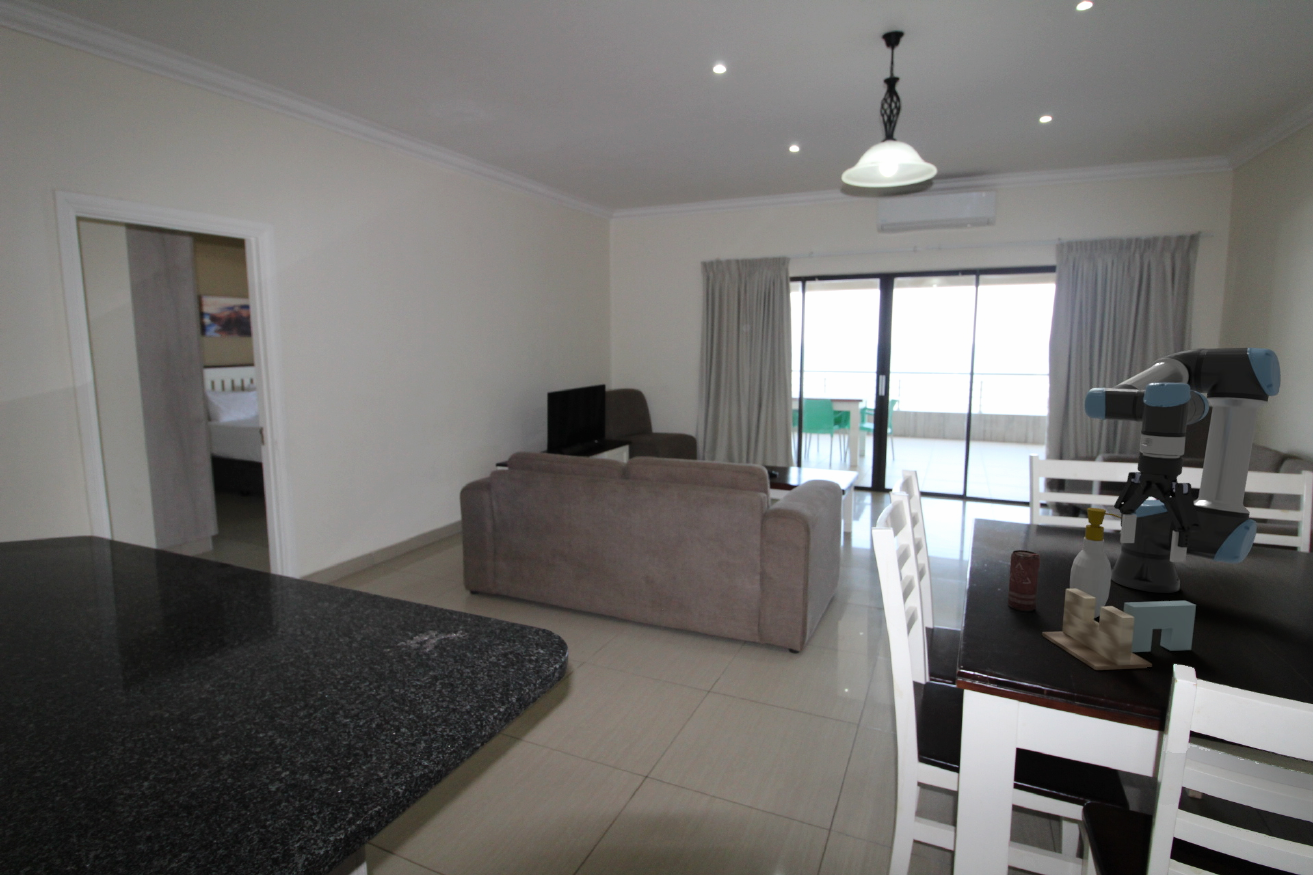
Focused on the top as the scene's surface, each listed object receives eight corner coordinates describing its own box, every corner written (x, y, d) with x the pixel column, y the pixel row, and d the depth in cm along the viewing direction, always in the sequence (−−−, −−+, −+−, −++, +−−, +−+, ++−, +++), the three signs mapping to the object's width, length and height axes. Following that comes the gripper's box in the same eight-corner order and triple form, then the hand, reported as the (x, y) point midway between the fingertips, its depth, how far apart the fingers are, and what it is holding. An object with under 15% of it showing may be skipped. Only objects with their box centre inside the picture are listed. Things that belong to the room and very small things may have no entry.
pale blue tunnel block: (1180, 644, 140) (1185, 600, 138) (1190, 649, 137) (1196, 605, 136) (1120, 646, 139) (1124, 602, 137) (1129, 652, 136) (1133, 607, 135)
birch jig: (1042, 635, 144) (1045, 589, 143) (1092, 633, 145) (1096, 587, 144) (1095, 669, 129) (1100, 618, 127) (1151, 667, 130) (1156, 616, 128)
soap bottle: (1109, 627, 148) (1119, 517, 145) (1063, 617, 154) (1072, 511, 151) (1114, 608, 159) (1124, 506, 156) (1072, 600, 165) (1080, 501, 162)
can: (1040, 612, 157) (1044, 557, 155) (1012, 610, 158) (1016, 555, 157) (1031, 603, 163) (1035, 550, 161) (1004, 601, 164) (1007, 548, 162)
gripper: (1101, 447, 149) (1093, 535, 152) (1194, 465, 124) (1183, 570, 127) (1132, 446, 149) (1124, 535, 152) (1232, 464, 125) (1219, 570, 127)
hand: (1151, 551), depth 139 cm, fingers open, 13 cm apart
